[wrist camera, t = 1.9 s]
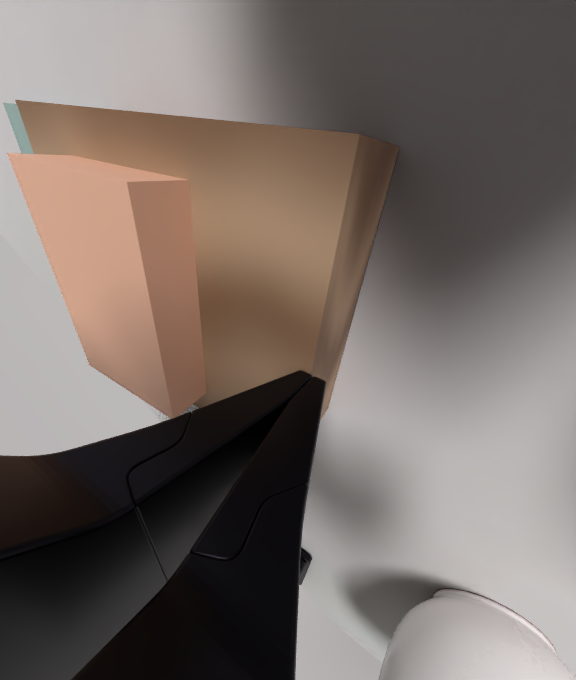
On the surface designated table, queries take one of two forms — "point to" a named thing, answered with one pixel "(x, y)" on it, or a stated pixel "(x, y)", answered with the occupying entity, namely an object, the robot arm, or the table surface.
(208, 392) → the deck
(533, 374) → the table surface
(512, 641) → the lidded jar
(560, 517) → the table surface
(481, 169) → the table surface
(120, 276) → the peach upright slab
